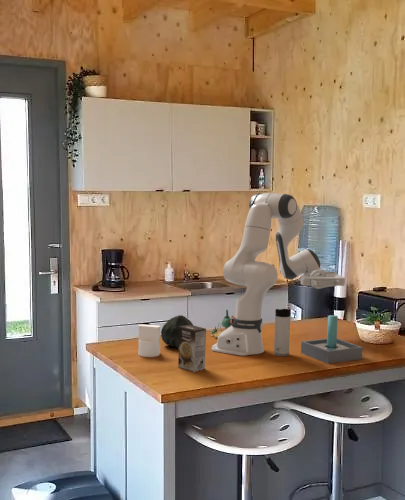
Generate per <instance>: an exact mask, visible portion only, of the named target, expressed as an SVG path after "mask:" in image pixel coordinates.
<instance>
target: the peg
mask: <svg viewBox="0 0 405 500" xmlns="http://www.w3.org/2000/svg"><path fill="white" fill-rule="evenodd" d="M338 318H339V317H338V315H334V314H332V315H331V314H330V315H327V329H326V330H327V331H326V333H327V334H326V339H327V348H336V345H337V339H338V338H337V337H338V321H339V320H338Z"/></svg>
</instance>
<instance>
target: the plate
mask: <svg viewBox="0 0 405 500" xmlns="http://www.w3.org/2000/svg"><path fill="white" fill-rule="evenodd" d="M313 345H315V346H317V347H320V348H323V349H325V350H328V351H330V350H338V349H346V348H349V347H346V346H343V345H341V344H338V343H337V345H336V348H327V343H321V344H313Z"/></svg>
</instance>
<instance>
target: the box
mask: <svg viewBox="0 0 405 500" xmlns="http://www.w3.org/2000/svg"><path fill="white" fill-rule="evenodd" d="M300 343H301V344H300V353H301V354H303V355H305V356H307V357H310V358H312V359H315V360H318V361H320V362H323V363H325V364H327V365H328V364H335V363H336V364H337V363H342V362H350V361H357V360H363V348H364V347H363V346H360V345H357V344H355V343H351V342H348V341H347V340H346V341H345V340H343V339H340V338H337V343H338V344H341V345H343V346H346V347H349V348H346V349H338V350H330V351H328V350H325V349H323V348H320V347H317V346H315V345H313V344H321V343H327V338H320V339H312V340H303V341H301V342H300Z"/></svg>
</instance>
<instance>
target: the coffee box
mask: <svg viewBox="0 0 405 500" xmlns="http://www.w3.org/2000/svg"><path fill="white" fill-rule="evenodd" d="M206 341H207V328H205V327H201V326H198V325H195V324H193V325H184V326H179V348H178V358H177V359H178V361H177V362H178V363H177V366H178V367H177V368H181V369H183V370H186V371H190V372H193V373H196V372H199V370H200V371H203V369H204V370H205V369H206V367H205V366H206V350H207V349H206V347H207V346H206Z"/></svg>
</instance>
